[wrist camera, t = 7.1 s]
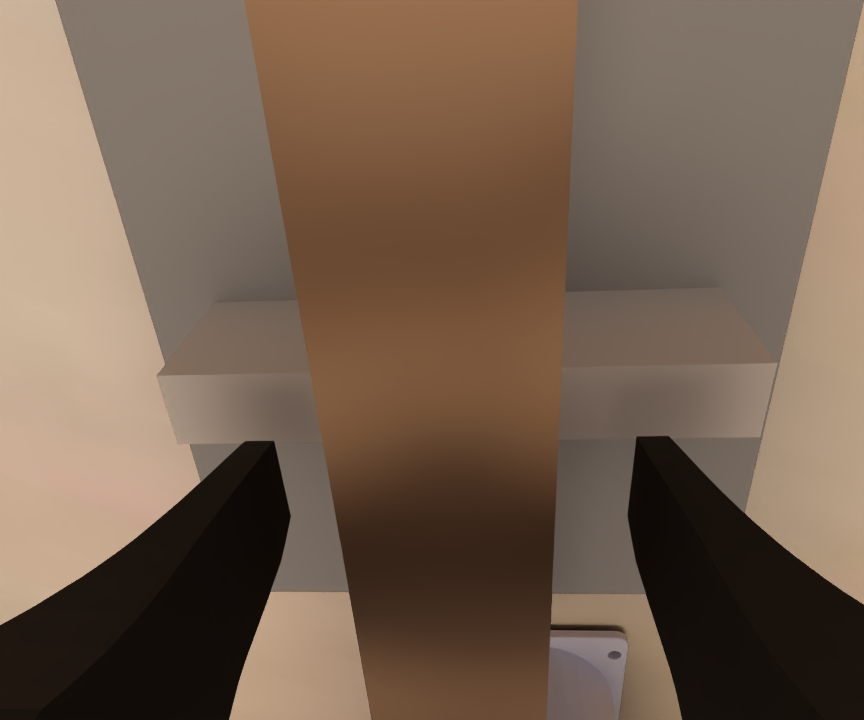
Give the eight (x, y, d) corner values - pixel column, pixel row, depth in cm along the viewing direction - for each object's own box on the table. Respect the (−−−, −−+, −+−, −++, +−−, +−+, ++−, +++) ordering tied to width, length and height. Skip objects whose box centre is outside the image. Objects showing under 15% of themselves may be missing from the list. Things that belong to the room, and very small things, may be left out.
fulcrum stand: (716, 572, 25) (767, 700, 20) (242, 570, 26) (195, 689, 22) (882, -186, 14) (1068, -256, 9) (45, -116, 15) (-128, -149, 11)
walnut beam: (526, 695, 21) (539, 883, 17) (415, 693, 21) (399, 878, 17) (543, -210, 10) (593, -345, 6) (312, -189, 10) (191, -302, 6)
